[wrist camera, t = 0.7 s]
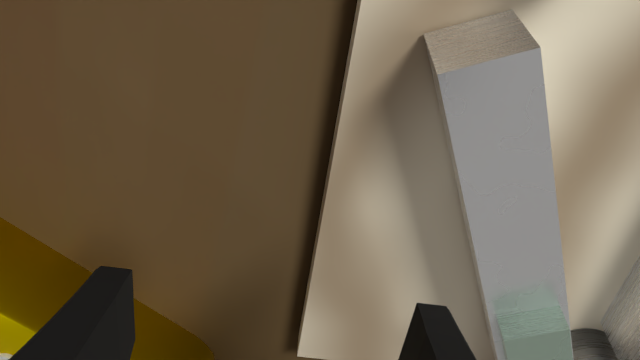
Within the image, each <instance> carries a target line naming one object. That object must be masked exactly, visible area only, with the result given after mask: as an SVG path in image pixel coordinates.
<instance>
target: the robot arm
mask: <svg viewBox="0 0 640 360" xmlns="http://www.w3.org/2000/svg"><path fill="white" fill-rule="evenodd" d="M134 343H135V319H134V298H133V278H132V270H131V269H122V268H114V267H105V266H101V267H99V268H98V269H96V270H95V271H94V272H93V273H92V274H91V276H90V277H89V278H88V279H87V280H86V281H85V282H84V284H83V285H82V286H81V287H80V288H79V289H78V290H77V291H76V292H75V293H74V295H73V296H72V297H71V298H70V299H69V300H68V301H67V302H66V303H65V304H64V305H63V306H62V307H61V308H60V309H59V310H58V312H57V313H56V314H55V315H54V316H53V317H52V318H51V319H50V320H49V321H48V322H47V323H46V324H45V325H44V326H43V327H42V328H41V329H40V330H39V331H38V332H37V333H36V334H35V335H34V336H33V337H32V338H31V339H30V340H29V341H28V342H27V343H26V344H25V345H24V346H23V347H21V348H20V349H19V350H18V351H17V352H16V353H15V354H14V355H13V356H12V357H11V358H10V359H8V360H130V358H131V354H132V350H133V346H134ZM398 360H477V359H476V357H475V356H474V354H473V352H472V351H471V349H470V347H469V345H468V343H467V342H466V340H465V338H464V336H463V334H462V333H461V331H460V329H459V327H458V325H457V323H456V322H455V320H454V318H453V316H452V314H451V312H450V311H449V309H448V308H447V307H446V306H441V305H433V304H424V303H417V304H416V307H415V310H414V313H413V316H412V319H411V322H410V325H409V328H408V331H407V334H406V337H405V341H404V344H403V347H402V350H401V353H400V356H399V359H398Z"/></svg>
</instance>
